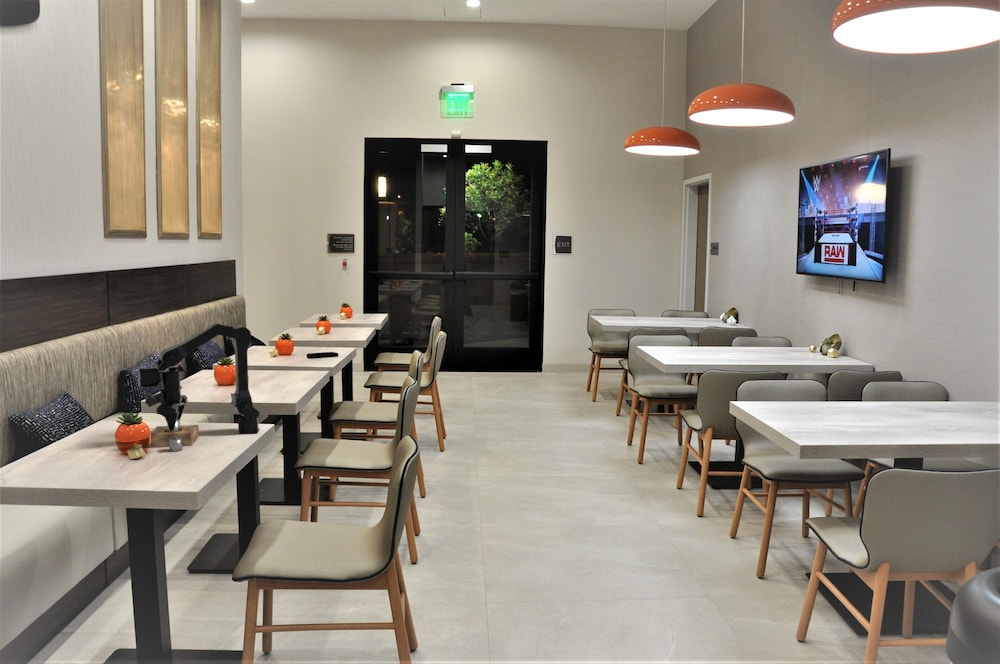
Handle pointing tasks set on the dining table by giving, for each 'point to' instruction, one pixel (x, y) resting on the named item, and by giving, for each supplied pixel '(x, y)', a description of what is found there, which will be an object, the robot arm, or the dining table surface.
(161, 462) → the dining table surface
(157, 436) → the hole block
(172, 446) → the short pin
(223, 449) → the dining table surface
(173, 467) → the dining table surface
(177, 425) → the tall pin
